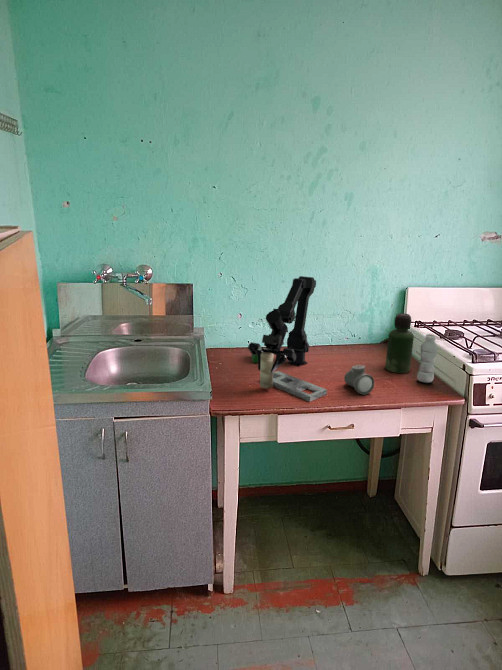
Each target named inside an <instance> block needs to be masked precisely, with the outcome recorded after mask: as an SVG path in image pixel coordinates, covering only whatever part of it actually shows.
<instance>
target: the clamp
mask: <svg viewBox="0 0 502 670" xmlns="http://www.w3.org/2000/svg"><path fill="white" fill-rule="evenodd" d="M251 361H252V362H251V363H254V364H258V356H257V355H253V354H251Z"/></svg>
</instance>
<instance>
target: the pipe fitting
mask: <svg viewBox="0 0 502 670" xmlns="http://www.w3.org/2000/svg"><path fill="white" fill-rule="evenodd" d="M365 371H366V365H363V364H356V365H353V366H351V368H350V369H349V371H347V372H346V373H345V374H344V378H343V379H344V383H345V384H346V385H348V386H350V387H352V388H354V391H356V392H357V393H358V394H359V395H362V396H364V395H368V394H370V393H371V392H372V391H373V389H374V387H375V379H374V377H373V376H372V375H371V374H368V373H366V372H365Z"/></svg>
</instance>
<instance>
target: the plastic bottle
mask: <svg viewBox="0 0 502 670" xmlns="http://www.w3.org/2000/svg"><path fill="white" fill-rule="evenodd" d="M436 337H437V336H436V335H434V334H430V333H429V334H428V333H427V334H425V341H424V342H423V343H421V345H420V364H419V366H418V367H419V368H418V371H417V373H416V376H417V377H416V378H417V380H418V381H419V382H421V383H425V384H429V383H432V382H433V381H434V378H435V371H434V368H435V361H436V357H437V353H438V346H437V344H436V342H435V341H436Z"/></svg>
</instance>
